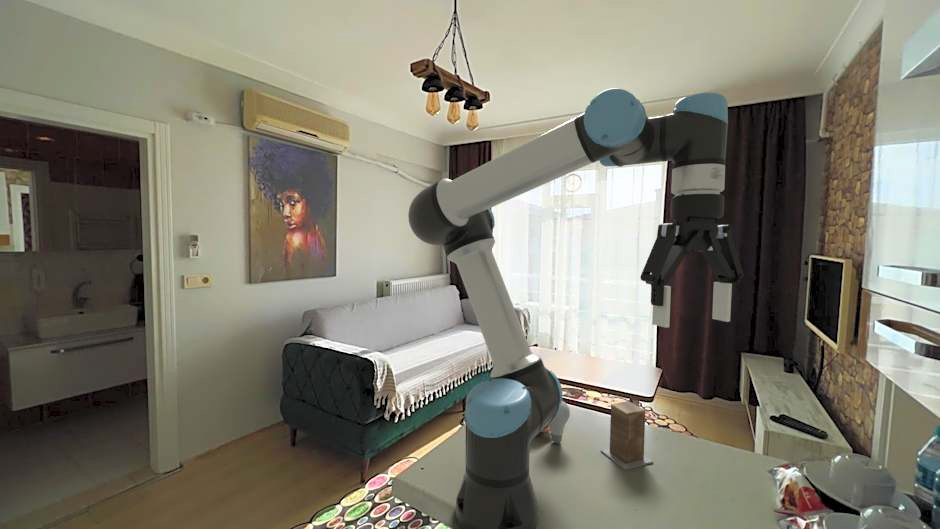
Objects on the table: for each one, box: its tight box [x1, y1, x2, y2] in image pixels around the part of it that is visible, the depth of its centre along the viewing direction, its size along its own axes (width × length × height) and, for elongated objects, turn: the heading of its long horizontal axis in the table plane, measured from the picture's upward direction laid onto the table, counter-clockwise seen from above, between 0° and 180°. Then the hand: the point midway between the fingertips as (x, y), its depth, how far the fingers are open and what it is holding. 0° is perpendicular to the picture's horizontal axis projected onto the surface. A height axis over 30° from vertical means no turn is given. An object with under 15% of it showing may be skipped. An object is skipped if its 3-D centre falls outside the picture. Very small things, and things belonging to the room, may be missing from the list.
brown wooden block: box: [609, 400, 646, 464], centre depth 89 cm, size 5×5×12 cm
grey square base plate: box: [600, 447, 654, 471], centre depth 90 cm, size 8×8×7 cm
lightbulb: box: [549, 400, 571, 444], centre depth 96 cm, size 6×6×11 cm
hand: (691, 323), depth 64 cm, fingers open, 13 cm apart
